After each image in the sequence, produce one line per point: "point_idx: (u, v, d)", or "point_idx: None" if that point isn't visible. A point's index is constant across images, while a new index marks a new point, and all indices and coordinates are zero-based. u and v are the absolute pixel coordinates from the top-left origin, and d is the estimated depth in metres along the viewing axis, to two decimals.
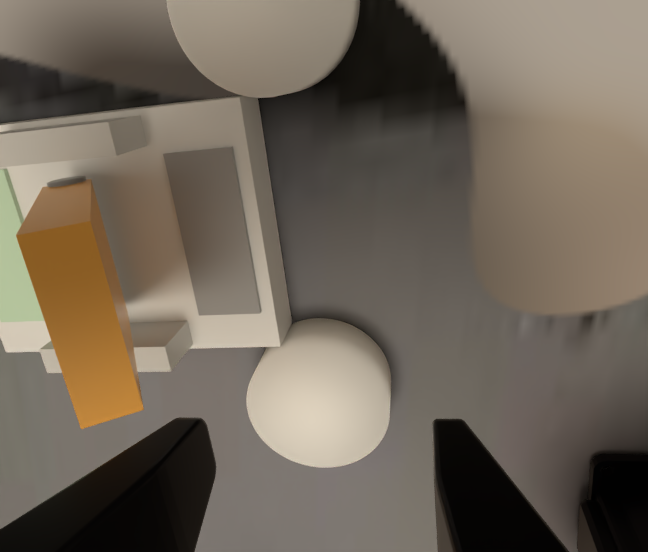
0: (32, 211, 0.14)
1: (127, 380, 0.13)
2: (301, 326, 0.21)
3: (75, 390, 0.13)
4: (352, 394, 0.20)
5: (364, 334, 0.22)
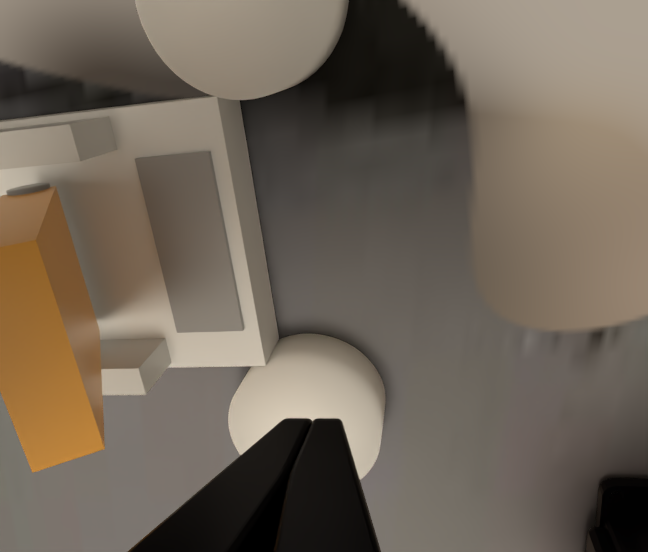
0: None
1: (84, 417, 0.12)
2: (285, 342, 0.20)
3: (24, 430, 0.11)
4: (339, 415, 0.19)
5: (354, 350, 0.20)
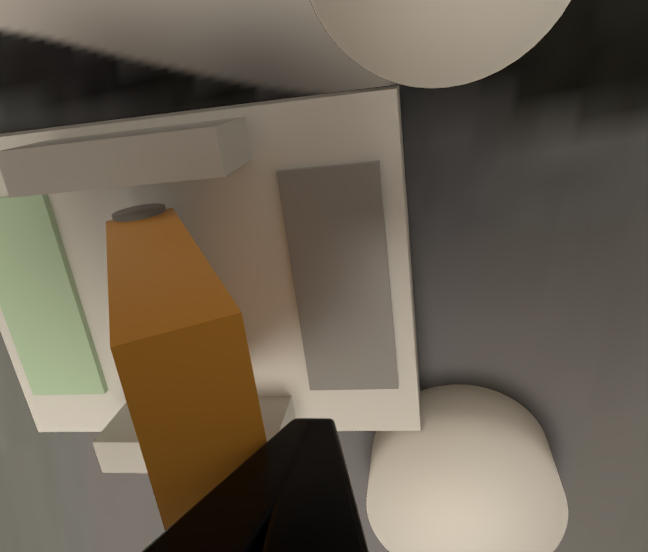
0: (113, 276, 0.08)
1: None
2: (427, 400, 0.16)
3: None
4: (514, 492, 0.15)
5: (513, 403, 0.16)
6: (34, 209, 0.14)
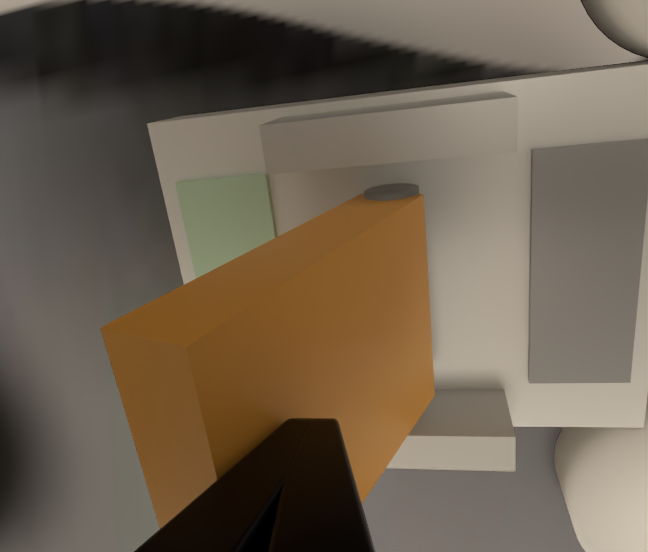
0: (240, 258, 0.09)
1: None
2: None
3: None
4: None
5: None
6: (254, 190, 0.13)
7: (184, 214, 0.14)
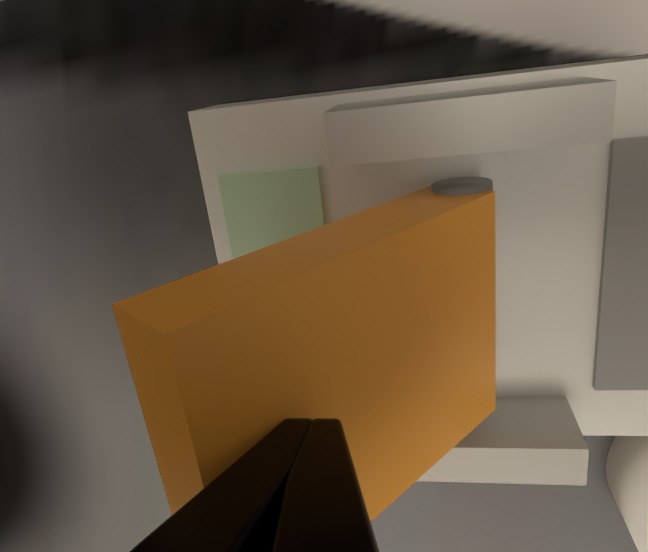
0: (271, 246, 0.09)
1: None
2: None
3: None
4: None
5: None
6: (304, 184, 0.12)
7: (226, 210, 0.13)
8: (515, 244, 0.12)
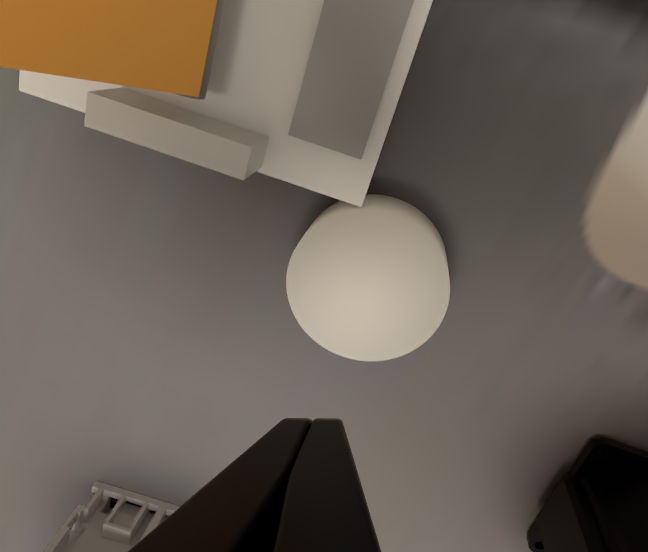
0: None
1: None
2: None
3: None
4: (410, 274, 0.18)
5: (426, 217, 0.19)
6: None
7: None
8: None
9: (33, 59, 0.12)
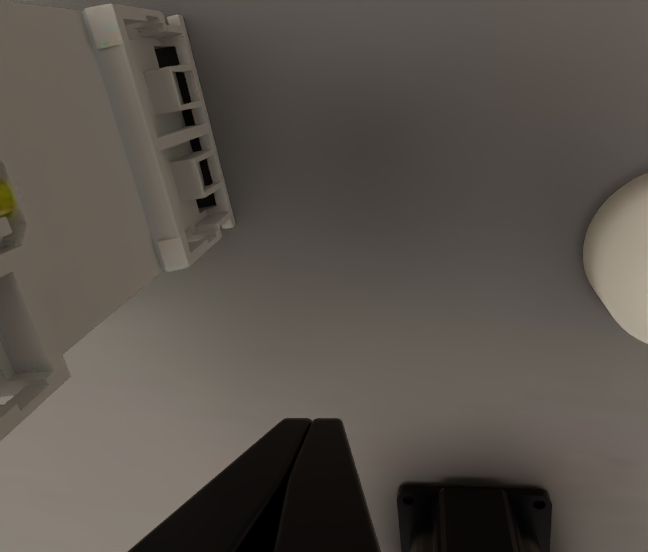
0: None
1: None
2: None
3: None
4: None
5: None
6: None
7: None
8: None
9: None
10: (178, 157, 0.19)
